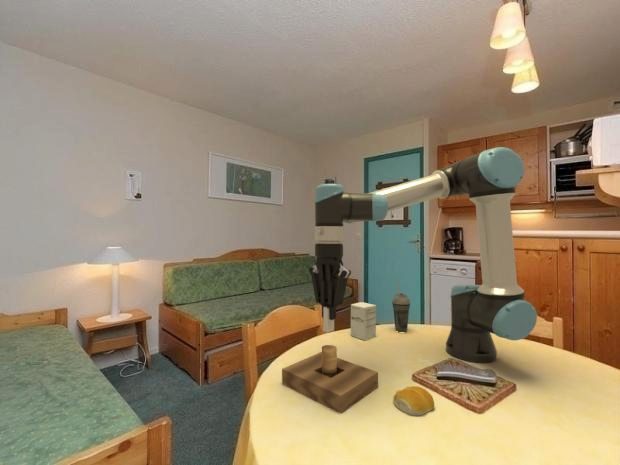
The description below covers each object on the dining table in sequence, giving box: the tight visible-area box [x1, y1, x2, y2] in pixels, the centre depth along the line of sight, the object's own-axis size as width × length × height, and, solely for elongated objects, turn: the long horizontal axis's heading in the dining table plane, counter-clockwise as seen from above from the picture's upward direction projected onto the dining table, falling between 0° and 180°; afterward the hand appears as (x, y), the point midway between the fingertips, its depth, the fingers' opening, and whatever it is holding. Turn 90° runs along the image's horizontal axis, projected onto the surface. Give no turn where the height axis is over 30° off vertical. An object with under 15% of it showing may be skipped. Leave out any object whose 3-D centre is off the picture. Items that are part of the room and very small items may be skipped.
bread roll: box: [393, 385, 435, 416], centre depth 72 cm, size 8×9×4 cm
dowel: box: [321, 344, 338, 378], centre depth 81 cm, size 4×4×10 cm
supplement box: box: [350, 301, 377, 341], centre depth 120 cm, size 7×7×13 cm
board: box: [281, 351, 379, 414], centre depth 81 cm, size 20×16×4 cm
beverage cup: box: [391, 282, 411, 333], centre depth 126 cm, size 7×7×20 cm
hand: (328, 330), depth 81 cm, fingers closed
